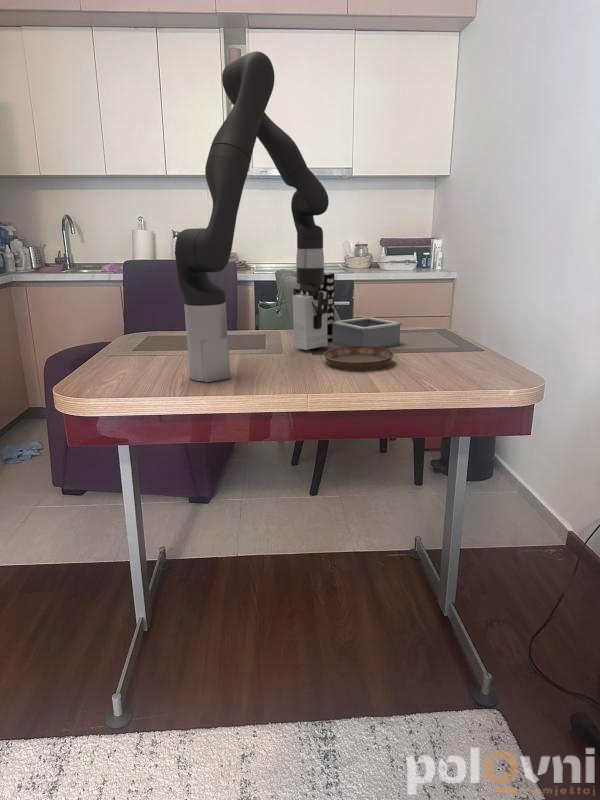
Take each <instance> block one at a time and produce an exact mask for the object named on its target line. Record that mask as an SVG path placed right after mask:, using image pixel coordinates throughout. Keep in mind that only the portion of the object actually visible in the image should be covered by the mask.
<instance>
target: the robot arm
mask: <svg viewBox="0 0 600 800" xmlns="http://www.w3.org/2000/svg"><path fill="white" fill-rule="evenodd" d="M221 83H222V86H223V89H224V92H225V94H226V96H227V97H228V100H229V101H230V102H231V103H232V105H233V107H232V109H231V110H230V112H229V114H228V115H227V117H226V118H225V120H224V121H223V123H222V124H221V126H220V128H219V129H218V131H217V132H216V134H215V135H214V137H213V140H212V142H211V145H210V147H209V152H208V156H207V159H206V163H205V168H204V169H205V171H204V175H205V180H206V183H207V186H208V190H209V193H210V197H211V199H212V208H211V209H212V210H211V214H210V219H209V222H208V225H207V226H206V227H204V228H203V227H202V228H201V227H200V228H199V227H197V228H187V229H186V228H185V229H183V230H181V231H180V233H178V235H177V237H176V240H175V243H174V244H175V245H174V256H175V265H176V271H177V279H178V285H179V291H180V293H181V295H182V297H183V306H184V307H183V308H184V317H185V319H184V320H185V331H186V343H187V354H188V367H189V378H190V379H191V380H193V381H196V382H205V383H211V382H216V381H222V380H228V379H231V366H230V348H229V339H228V338H229V337H228V326H227V321H228V320H227V307H226V304H227V303H226V292H225V291H224V289H223V288H222V287H220V286H218V285H216V284H214V282H212V281H211V280H210V278H209V276H208V273H218V272H219V273H220V272H222V271H223V270H224V269H225V268H226V267H227V265H228V262H229V261H230V257H231V254H232V250H233V244H234V238H235V237H234V236H235V230H236V223H237V218H238V212H239V208H240V203H241V200H242V195H243V191H244V186H245V184H246V180H247V177H248V172H249V169H250V166H251V161H252V156H253V152H254V148H255V144H256V141H257V139H258V140H259V142H260V144H262V146H263V147H264V149H265V150H266V152H267V153H268V155H269V157H270V158H271V159H270V160H272V162H273V164H274V166H275V168H276V169H277V172H278V174H279V176H280V177H281V179H282V181H283V182H284V184H285V185H286V186H288V187H292V188H294V189H295V190H296V191H295V192H294V193H293V195H292V197H291V201H290V202H291V203H290V205H291V206H290V209H291V214H292V219H293V223H294V227H295V230H296V259H295V261H296V266H295V267H296V283H297V284H298V285H299V288H298V287H297V288H293V289H292V293H293V296H294V295H306V296H313V298H314V300H318V304H314V303H313V302H312V307H313V314H314V329H321V326H322V315H323V314H324V313H327V307H328V295H329V293H328V291H325V292H323V291H322V290H321V284H323V283H324V273H325V255H324V230H323V228H322V227H321V226H319V225H317V224H316V221H315V218H314V216H321V215H323V214H324V213H326V211H327V210H328V208H329V195H328V192H327V190H326V188H325V187H324V185H323V183H321V181H320V180H319V179H318V178H317V176H316V175H315V174H314V173H313V171H312V170H311V169H310V168H309V166H307V163H306V161H305V159H304V157H303V155H302V152H301V150H300V149H299V147H298V145H297V143H296V142H295V140H293V138H292V137H291V136H290V135H289V134H288V133H287V132H286V131H284V130H283V129H282V128H281V127H280V126H278V125H277V124H276V123H275V122H274V121H273V120H272V119H271V118H270V117H269V116H268V115H267V113H266V109H267V106H268V104H269V101H270V99H271V97H272V93H273V90H274V86H275V69H274V66H273V63H272V60H271V59H270V57H269V56H268V55H266V54H265V53H264V52H262V51H259V50H258V51H256V50H255V51H250V52H249V53H246V54H244V55H242V56H240V57H239V58H236V59H235V60H233V61H232V62H229V64H226V66H225V67H224V68H223V71H222V73H221ZM322 305H324V307H323V309H322ZM316 307H318V309H317V310H316Z"/></svg>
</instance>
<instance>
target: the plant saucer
mask: <svg viewBox="0 0 600 800" xmlns="http://www.w3.org/2000/svg"><path fill="white" fill-rule="evenodd" d="M394 355H395V352H393V351H392V350H391V349H389V348H386V347H385V348H380V347H373V346H346V347H344V346H340V347H335V348H331V349H328V350H326V351H325V352H323V357H324V359H325V360H326V361H327V362H328V363H329V364H330V366H332V367H333V368H336V369H339V370H346V371H347V370H348V371H371V370H378V369H381V368H384V367H385V366H387V365H388V364H389V362H390V361H391V360H392V359H393V358H394Z"/></svg>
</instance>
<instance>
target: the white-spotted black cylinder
mask: <svg viewBox="0 0 600 800" xmlns="http://www.w3.org/2000/svg"><path fill="white" fill-rule="evenodd" d="M321 290H322V291H323V292H325V291H328V293H329V295H328V307H327V343H330V342H332V324H331V322H334V321H335V273H333V272H324V283H323V284H321Z"/></svg>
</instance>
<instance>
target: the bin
mask: <svg viewBox="0 0 600 800" xmlns="http://www.w3.org/2000/svg"><path fill="white" fill-rule="evenodd" d="M331 324H332V341H331V342H332V344H333V345H337V346H340V347H346V346H373V347H380V348H385V349H386V348H390V347H395V346H400V344H401V343H400V342H401V326H402V325H403V322H401V321H400V322H399V321H394V320H387V319H381V318H376V317H370V316H366V317H358V318H351V319H350V318H349V319H342V320H336V321H335V320H334V322H331Z"/></svg>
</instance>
